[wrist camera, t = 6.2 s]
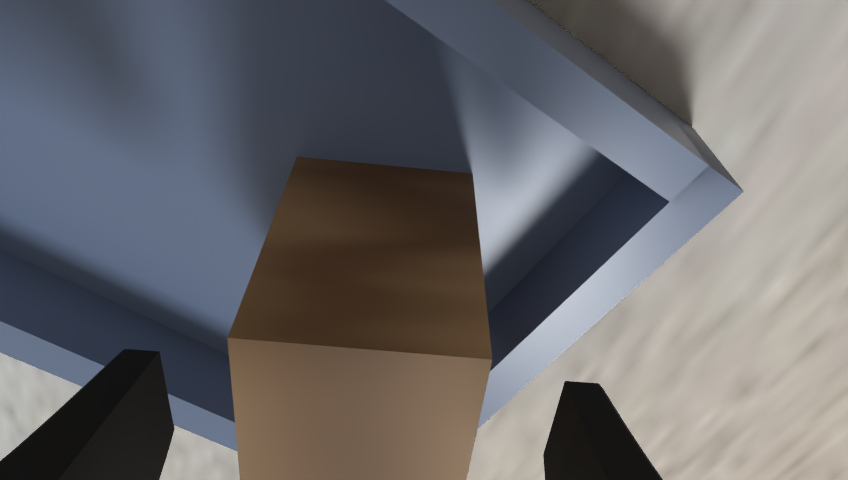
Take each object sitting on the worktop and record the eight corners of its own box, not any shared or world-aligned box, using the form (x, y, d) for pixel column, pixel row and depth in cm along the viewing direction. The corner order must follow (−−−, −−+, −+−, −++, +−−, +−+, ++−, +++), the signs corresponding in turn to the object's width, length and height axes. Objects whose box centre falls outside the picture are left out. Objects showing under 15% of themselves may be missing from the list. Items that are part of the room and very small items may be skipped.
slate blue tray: (693, 128, 15) (743, 191, 13) (389, 429, 21) (383, 512, 19) (-7, -411, 10) (-146, -479, 8) (-146, 180, 16) (-249, 248, 14)
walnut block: (472, 173, 15) (492, 359, 10) (451, 307, 17) (458, 515, 12) (296, 156, 15) (227, 337, 10) (298, 295, 17) (241, 500, 12)
